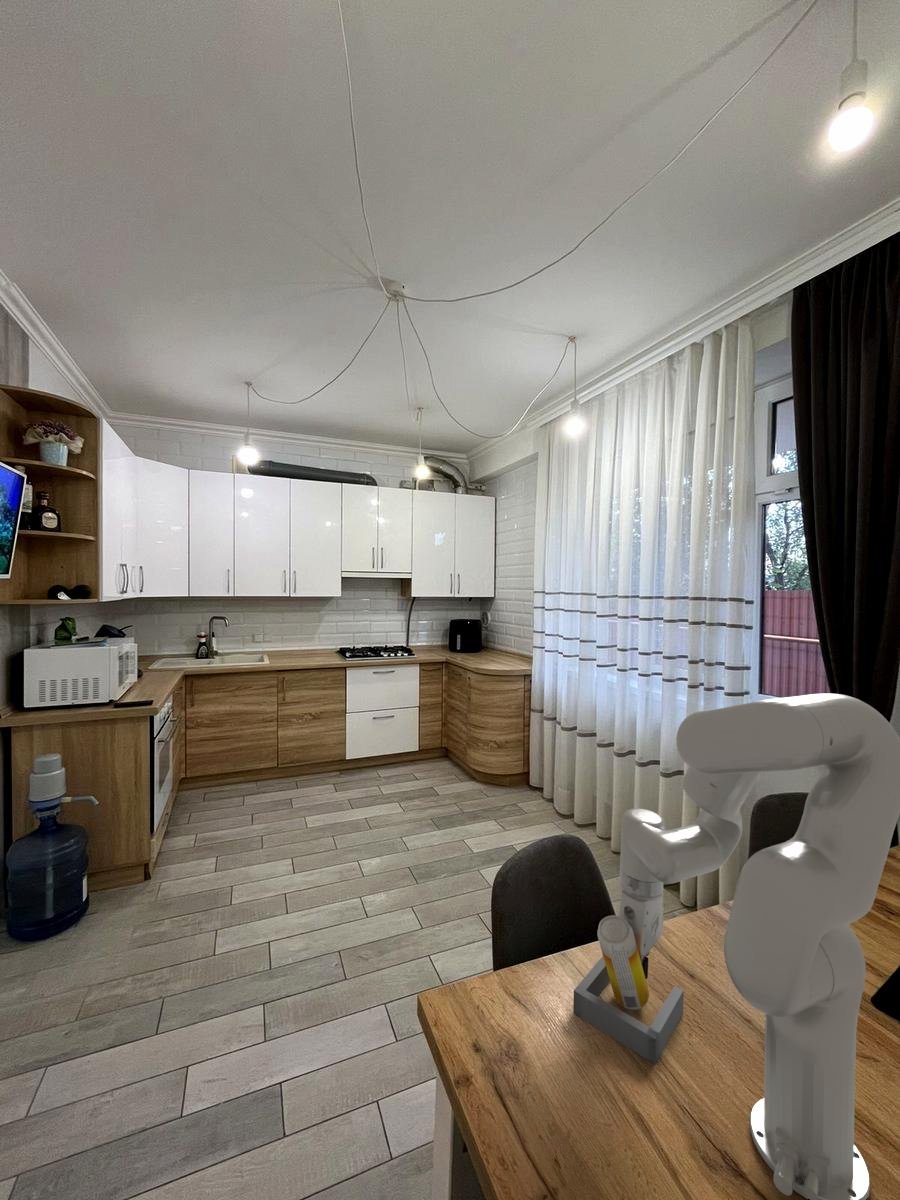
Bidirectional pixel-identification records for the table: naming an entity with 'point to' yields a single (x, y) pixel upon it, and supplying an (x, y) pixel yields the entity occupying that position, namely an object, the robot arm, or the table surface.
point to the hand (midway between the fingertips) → (637, 976)
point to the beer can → (623, 962)
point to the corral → (626, 1016)
